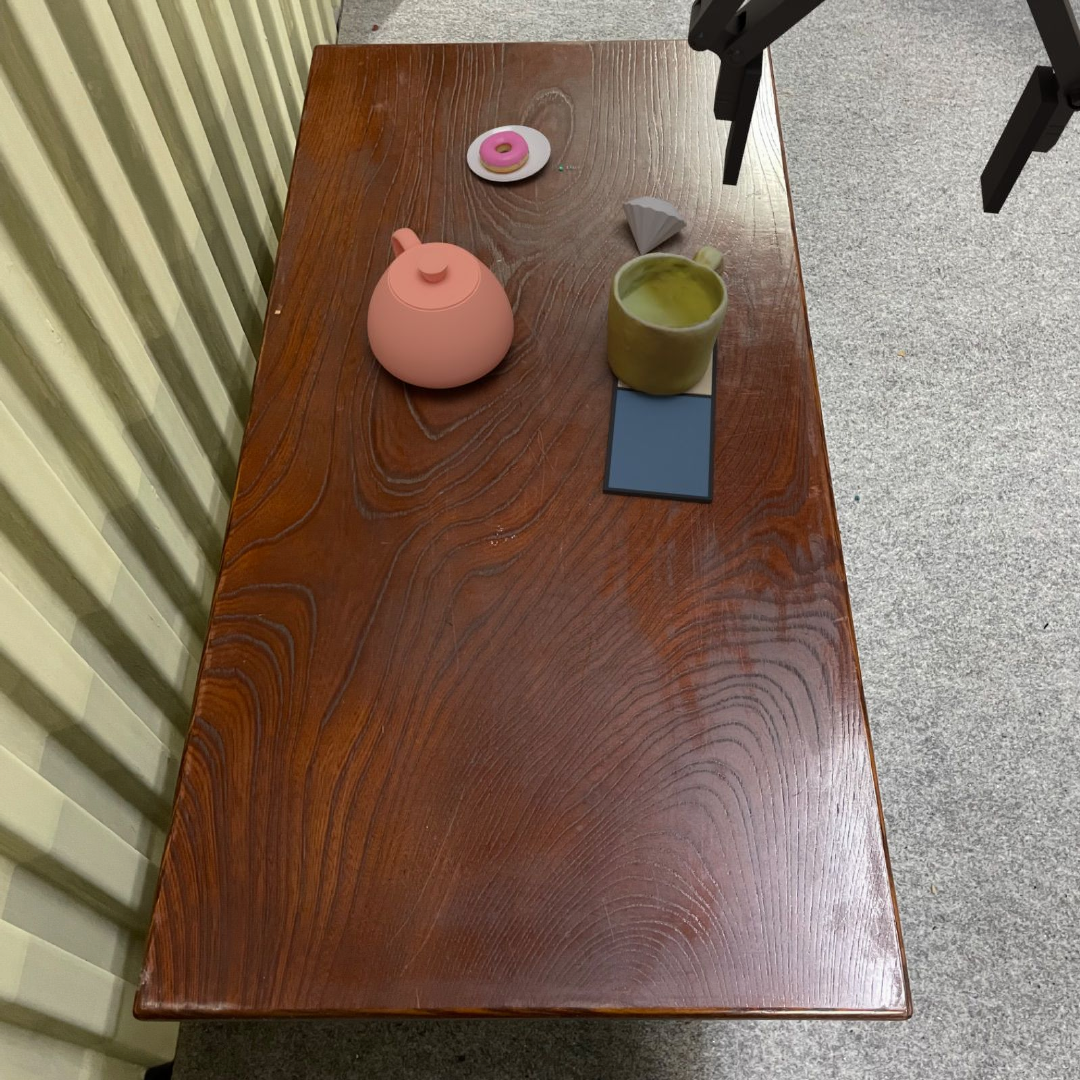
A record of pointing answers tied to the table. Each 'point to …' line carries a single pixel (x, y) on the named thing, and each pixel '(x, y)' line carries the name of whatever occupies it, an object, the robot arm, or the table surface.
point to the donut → (509, 153)
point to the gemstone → (652, 221)
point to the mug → (665, 319)
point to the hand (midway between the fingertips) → (858, 182)
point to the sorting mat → (661, 444)
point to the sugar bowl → (438, 315)
